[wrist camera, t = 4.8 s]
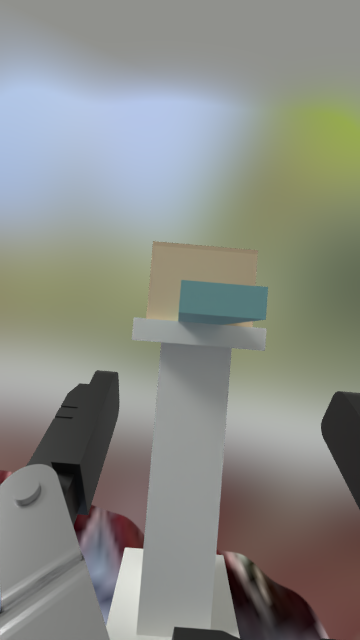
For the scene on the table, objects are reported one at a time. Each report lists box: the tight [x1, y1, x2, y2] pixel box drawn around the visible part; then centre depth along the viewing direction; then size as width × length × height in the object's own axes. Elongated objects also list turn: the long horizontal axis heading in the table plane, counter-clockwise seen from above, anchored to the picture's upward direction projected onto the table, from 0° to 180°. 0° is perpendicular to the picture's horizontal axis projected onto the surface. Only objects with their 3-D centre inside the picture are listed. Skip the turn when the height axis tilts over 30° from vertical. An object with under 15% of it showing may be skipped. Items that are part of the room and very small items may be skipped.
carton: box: [146, 241, 268, 327], centre depth 24 cm, size 23×10×7 cm, turn 1°
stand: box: [106, 318, 266, 640], centre depth 30 cm, size 13×13×32 cm
